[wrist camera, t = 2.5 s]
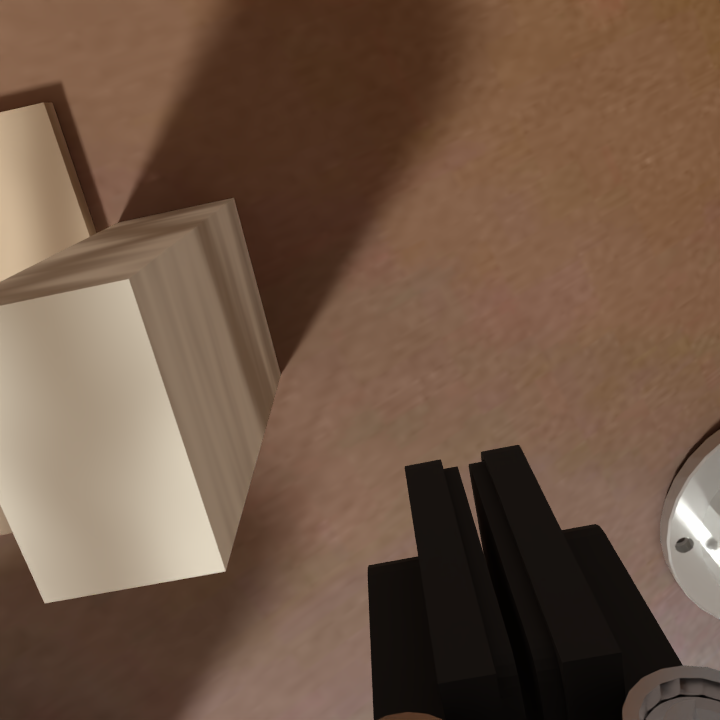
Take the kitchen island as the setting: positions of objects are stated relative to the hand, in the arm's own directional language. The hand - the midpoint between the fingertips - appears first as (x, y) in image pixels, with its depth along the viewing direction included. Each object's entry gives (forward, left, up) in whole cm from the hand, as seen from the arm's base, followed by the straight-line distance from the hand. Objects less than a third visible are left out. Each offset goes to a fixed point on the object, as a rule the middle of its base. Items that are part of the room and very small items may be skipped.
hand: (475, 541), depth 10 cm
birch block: (+9, 0, -21) cm, 22 cm away
